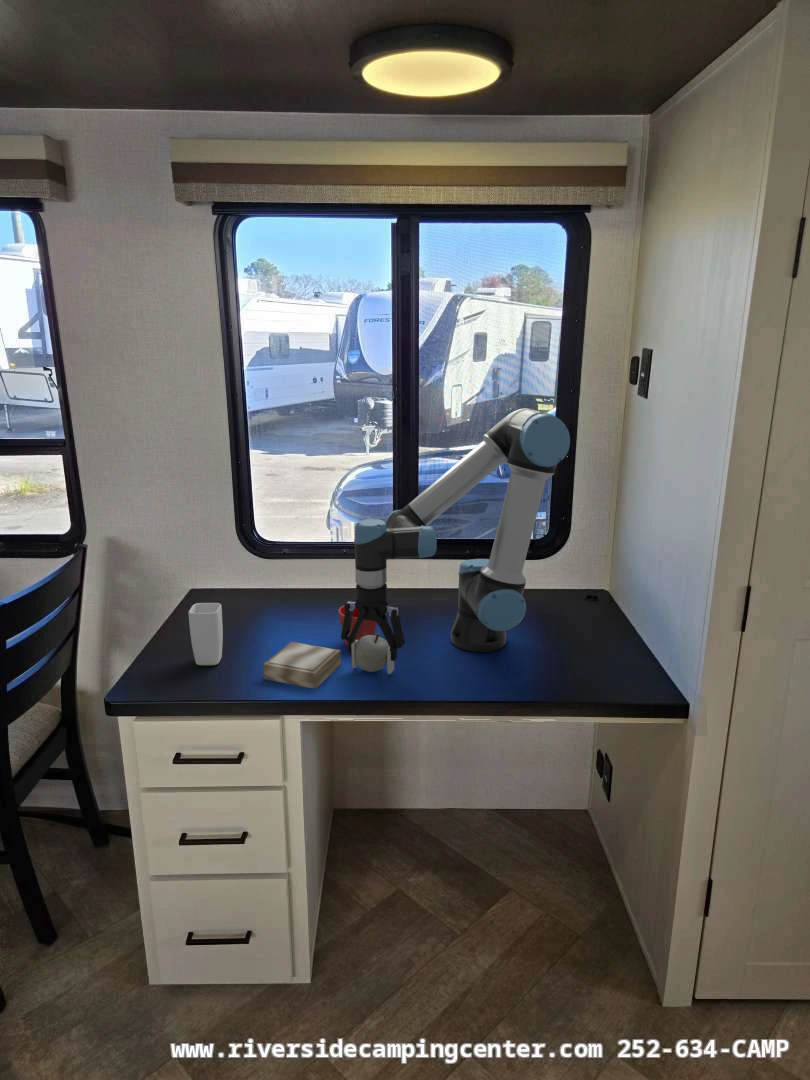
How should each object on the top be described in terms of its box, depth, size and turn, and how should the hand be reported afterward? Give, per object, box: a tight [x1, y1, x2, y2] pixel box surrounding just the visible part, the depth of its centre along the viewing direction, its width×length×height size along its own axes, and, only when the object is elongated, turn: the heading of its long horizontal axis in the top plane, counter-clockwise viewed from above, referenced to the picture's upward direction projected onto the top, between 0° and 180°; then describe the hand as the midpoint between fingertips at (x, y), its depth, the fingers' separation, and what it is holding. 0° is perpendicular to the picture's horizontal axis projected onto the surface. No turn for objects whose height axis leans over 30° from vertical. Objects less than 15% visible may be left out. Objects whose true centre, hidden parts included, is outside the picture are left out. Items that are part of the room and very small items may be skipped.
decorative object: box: [355, 633, 389, 673], centre depth 182 cm, size 9×9×10 cm
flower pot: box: [338, 605, 378, 647], centre depth 199 cm, size 11×11×10 cm
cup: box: [187, 602, 224, 667], centre depth 186 cm, size 7×7×15 cm
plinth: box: [263, 641, 342, 690], centre depth 183 cm, size 14×14×4 cm
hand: (373, 668), depth 183 cm, fingers closed on decorative object, 9 cm apart
